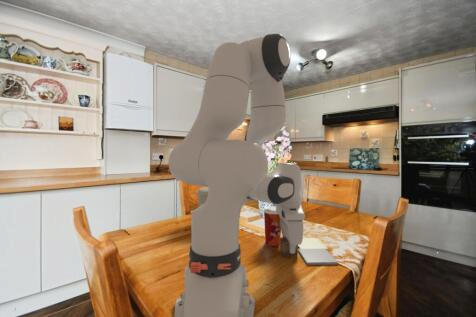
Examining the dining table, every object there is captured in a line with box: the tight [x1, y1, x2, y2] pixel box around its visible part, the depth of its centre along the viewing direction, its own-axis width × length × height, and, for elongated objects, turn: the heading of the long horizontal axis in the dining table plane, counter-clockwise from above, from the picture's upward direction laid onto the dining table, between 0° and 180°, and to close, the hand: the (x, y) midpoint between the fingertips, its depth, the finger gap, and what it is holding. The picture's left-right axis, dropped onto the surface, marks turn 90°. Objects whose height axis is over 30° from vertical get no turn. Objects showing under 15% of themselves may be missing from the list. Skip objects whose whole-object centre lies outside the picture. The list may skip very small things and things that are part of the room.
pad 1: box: [298, 237, 329, 251], centre depth 87 cm, size 10×10×1 cm
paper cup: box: [263, 205, 282, 247], centre depth 89 cm, size 8×8×14 cm
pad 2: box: [298, 248, 339, 266], centre depth 77 cm, size 10×10×1 cm
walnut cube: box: [279, 237, 299, 258], centre depth 80 cm, size 5×5×5 cm
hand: (288, 246), depth 81 cm, fingers open, 8 cm apart
